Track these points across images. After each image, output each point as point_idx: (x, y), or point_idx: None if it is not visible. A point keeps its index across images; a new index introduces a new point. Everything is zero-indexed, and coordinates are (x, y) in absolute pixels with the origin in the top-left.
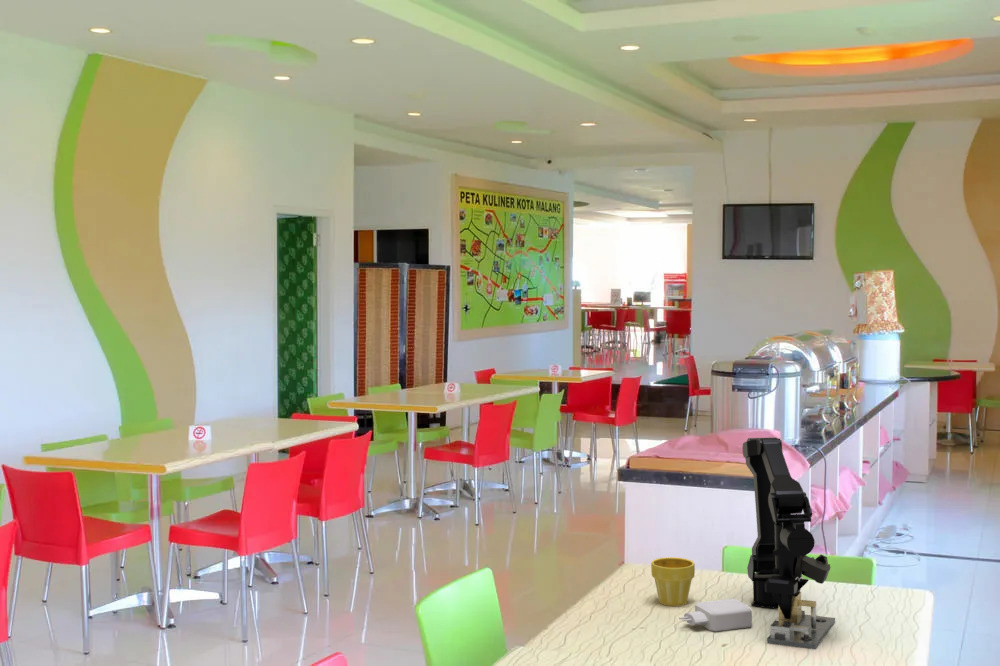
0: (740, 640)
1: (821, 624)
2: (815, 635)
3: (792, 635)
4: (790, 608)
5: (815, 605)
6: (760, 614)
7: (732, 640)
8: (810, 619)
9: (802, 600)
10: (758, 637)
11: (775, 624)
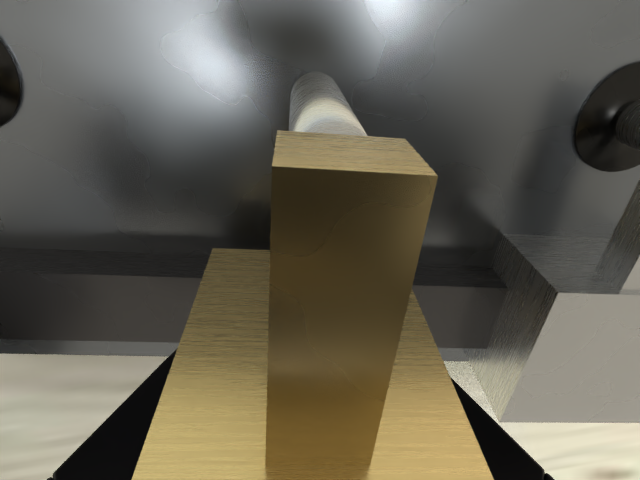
0: (541, 442)
1: (106, 35)
2: (521, 45)
3: (562, 239)
4: (505, 438)
5: (356, 142)
6: (37, 459)
7: (543, 464)
8: (2, 175)
9: (313, 423)
10: (479, 392)
11: (615, 401)
